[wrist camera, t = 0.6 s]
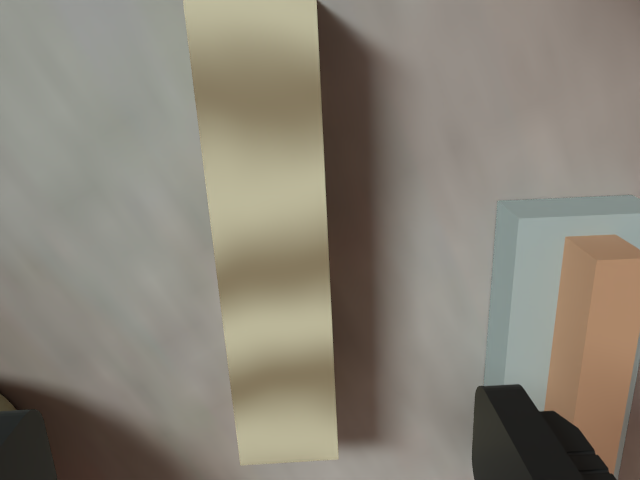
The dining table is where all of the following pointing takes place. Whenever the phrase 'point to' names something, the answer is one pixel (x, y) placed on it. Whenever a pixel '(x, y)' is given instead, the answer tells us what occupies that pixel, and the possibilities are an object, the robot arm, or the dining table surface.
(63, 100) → the dining table surface
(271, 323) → the batten
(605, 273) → the fulcrum
